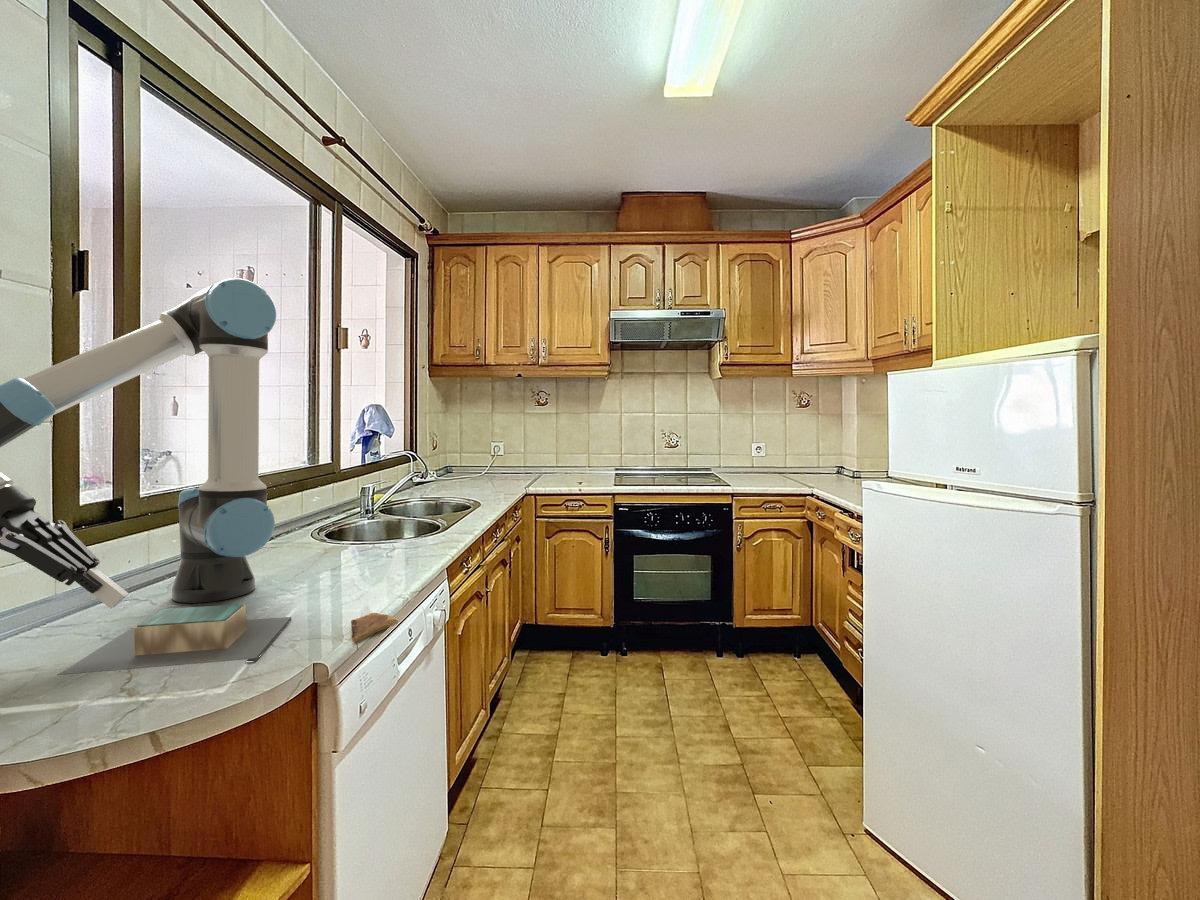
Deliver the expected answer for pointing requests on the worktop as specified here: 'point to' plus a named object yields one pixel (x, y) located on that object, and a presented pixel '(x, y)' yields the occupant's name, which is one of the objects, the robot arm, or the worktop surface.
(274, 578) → the worktop surface
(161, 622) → the birch block
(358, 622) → the shard
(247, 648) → the rubber mat
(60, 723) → the worktop surface
